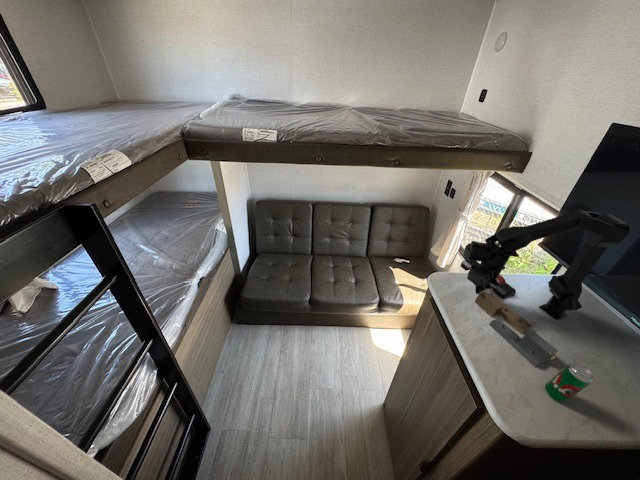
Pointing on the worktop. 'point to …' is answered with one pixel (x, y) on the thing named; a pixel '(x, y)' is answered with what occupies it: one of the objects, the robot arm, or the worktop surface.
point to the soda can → (569, 382)
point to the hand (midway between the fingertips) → (477, 293)
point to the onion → (500, 280)
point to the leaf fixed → (526, 343)
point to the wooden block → (502, 311)
